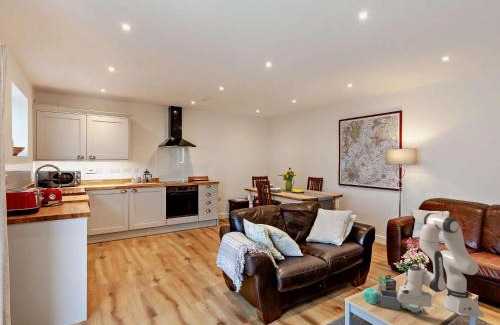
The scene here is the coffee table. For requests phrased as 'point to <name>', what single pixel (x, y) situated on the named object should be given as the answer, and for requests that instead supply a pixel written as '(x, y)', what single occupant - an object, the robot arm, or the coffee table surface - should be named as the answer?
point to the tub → (389, 299)
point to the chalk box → (387, 283)
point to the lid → (413, 307)
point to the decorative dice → (370, 296)
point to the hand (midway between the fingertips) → (413, 310)
